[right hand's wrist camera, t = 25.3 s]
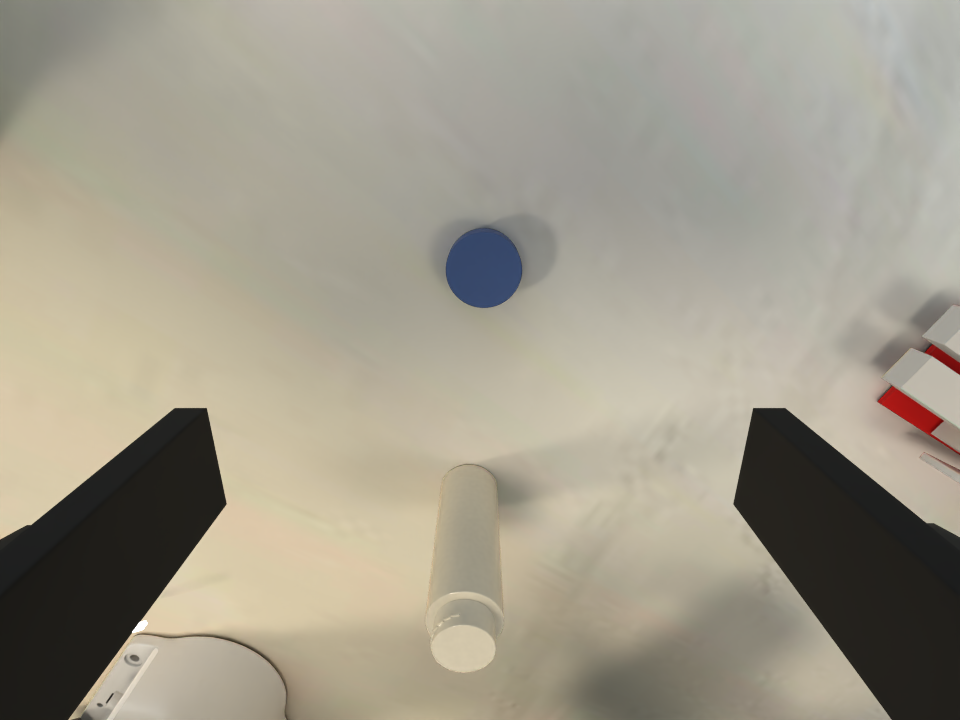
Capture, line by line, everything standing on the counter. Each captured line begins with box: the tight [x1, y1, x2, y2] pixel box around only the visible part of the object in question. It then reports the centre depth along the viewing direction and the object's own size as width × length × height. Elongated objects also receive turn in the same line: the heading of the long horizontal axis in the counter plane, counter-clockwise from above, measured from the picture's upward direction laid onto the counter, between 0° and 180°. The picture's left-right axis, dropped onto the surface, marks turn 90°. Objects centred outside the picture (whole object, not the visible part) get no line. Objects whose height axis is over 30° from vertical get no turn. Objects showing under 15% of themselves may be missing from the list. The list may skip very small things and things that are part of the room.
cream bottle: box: [425, 465, 504, 673], centre depth 37 cm, size 5×5×16 cm
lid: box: [446, 228, 522, 308], centre depth 36 cm, size 5×5×2 cm
